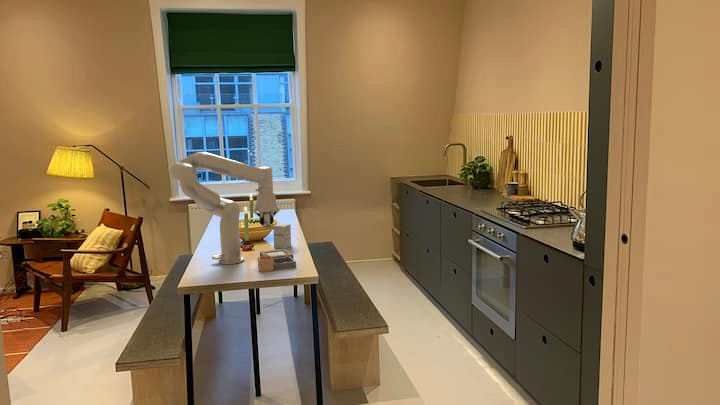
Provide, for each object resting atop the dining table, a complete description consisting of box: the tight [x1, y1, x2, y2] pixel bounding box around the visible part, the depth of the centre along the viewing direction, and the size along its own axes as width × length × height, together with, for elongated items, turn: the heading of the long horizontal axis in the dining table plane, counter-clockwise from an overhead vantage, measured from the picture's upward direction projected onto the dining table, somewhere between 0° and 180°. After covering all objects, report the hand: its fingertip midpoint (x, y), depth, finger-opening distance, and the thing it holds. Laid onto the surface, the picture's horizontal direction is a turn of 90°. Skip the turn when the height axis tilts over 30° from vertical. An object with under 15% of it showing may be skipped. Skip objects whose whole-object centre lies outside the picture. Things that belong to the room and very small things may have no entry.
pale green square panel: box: [266, 251, 285, 256], centre depth 279 cm, size 9×9×1 cm
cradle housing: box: [259, 248, 295, 260], centre depth 279 cm, size 14×14×3 cm
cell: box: [262, 212, 272, 229], centre depth 286 cm, size 4×4×9 cm
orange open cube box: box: [257, 256, 275, 273], centre depth 258 cm, size 6×6×6 cm
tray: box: [273, 256, 297, 271], centre depth 265 cm, size 11×11×3 cm
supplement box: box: [272, 223, 292, 249], centre depth 304 cm, size 7×7×13 cm
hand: (266, 224), depth 287 cm, fingers closed on cell, 4 cm apart
